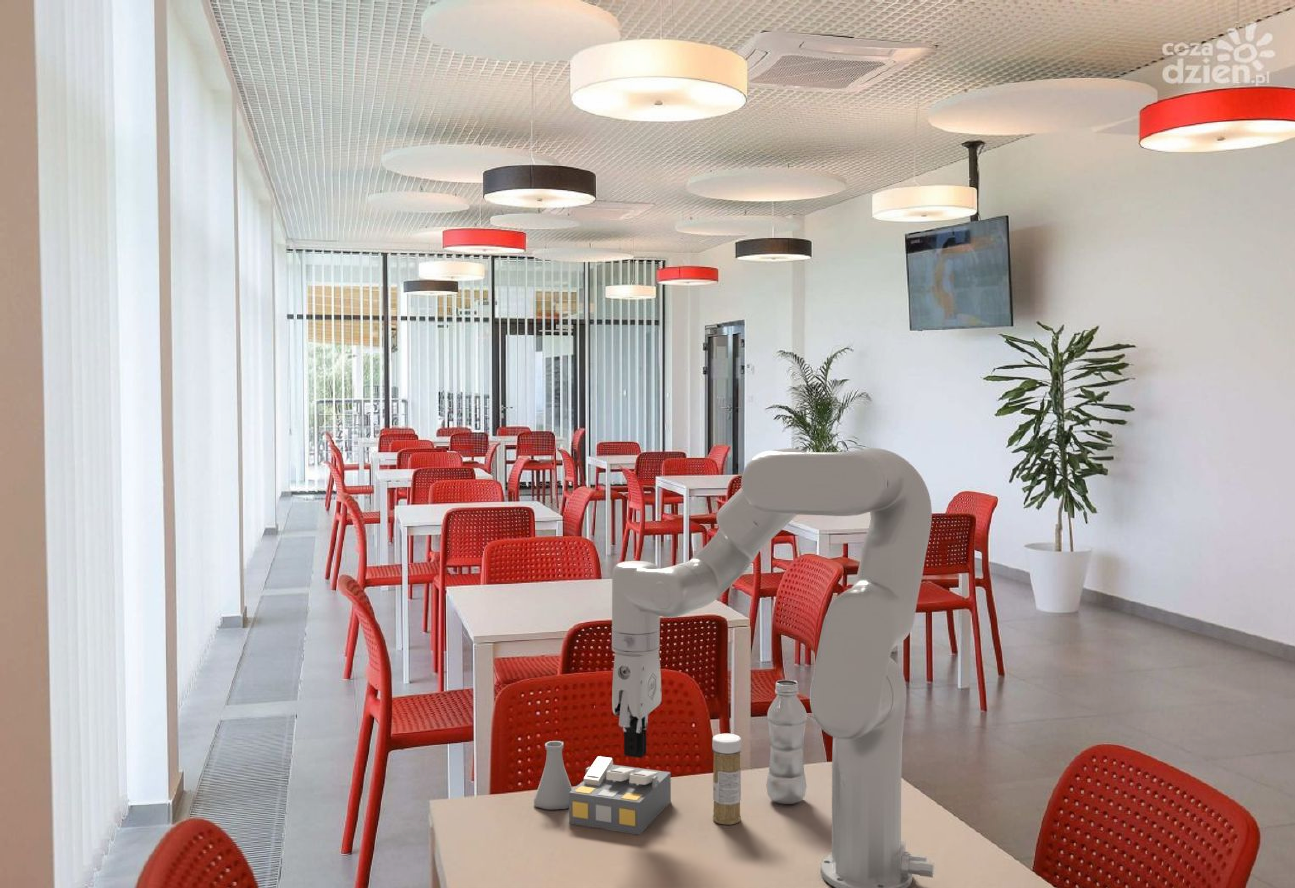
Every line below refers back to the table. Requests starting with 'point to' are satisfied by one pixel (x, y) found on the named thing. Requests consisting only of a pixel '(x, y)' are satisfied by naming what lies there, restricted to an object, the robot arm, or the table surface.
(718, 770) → the sprinkles bottle
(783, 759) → the plastic bottle
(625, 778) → the switch
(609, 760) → the switch
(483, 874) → the table surface
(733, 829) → the table surface
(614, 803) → the console
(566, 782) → the flask
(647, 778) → the switch
